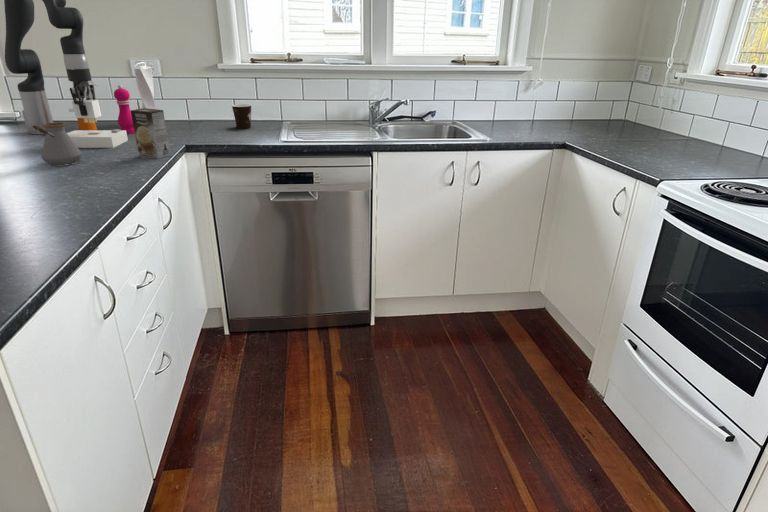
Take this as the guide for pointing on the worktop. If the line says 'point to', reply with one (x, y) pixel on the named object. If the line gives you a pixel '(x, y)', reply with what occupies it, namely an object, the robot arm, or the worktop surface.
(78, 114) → the plug
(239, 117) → the coffee mug
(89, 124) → the spray bottle
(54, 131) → the coffee pot
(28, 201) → the worktop surface
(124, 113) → the pepper mill
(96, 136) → the socket
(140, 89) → the skyscraper
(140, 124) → the coffee box
